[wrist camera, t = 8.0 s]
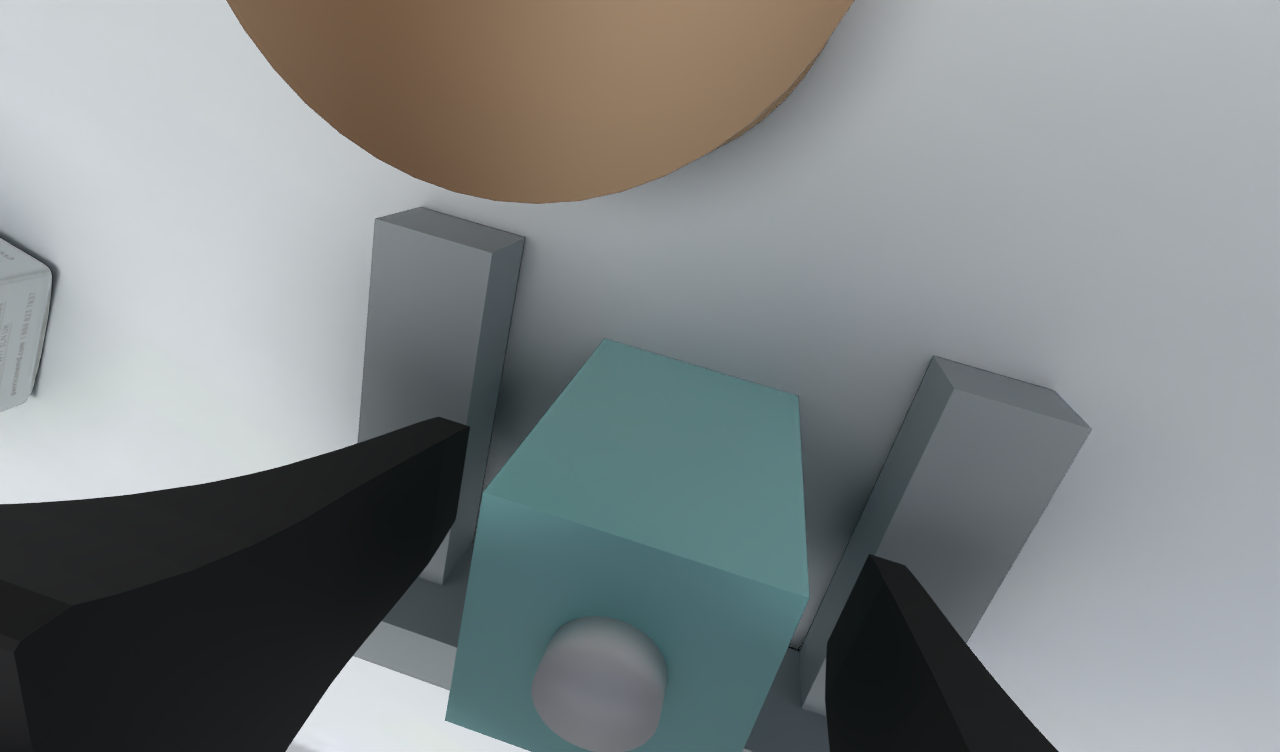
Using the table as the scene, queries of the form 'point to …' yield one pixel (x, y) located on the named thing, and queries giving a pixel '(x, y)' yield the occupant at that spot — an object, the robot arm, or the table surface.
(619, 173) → the spool
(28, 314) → the skincare box
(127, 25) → the table surface
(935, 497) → the gray u-shaped block
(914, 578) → the robot arm
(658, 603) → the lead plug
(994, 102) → the table surface
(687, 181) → the table surface
